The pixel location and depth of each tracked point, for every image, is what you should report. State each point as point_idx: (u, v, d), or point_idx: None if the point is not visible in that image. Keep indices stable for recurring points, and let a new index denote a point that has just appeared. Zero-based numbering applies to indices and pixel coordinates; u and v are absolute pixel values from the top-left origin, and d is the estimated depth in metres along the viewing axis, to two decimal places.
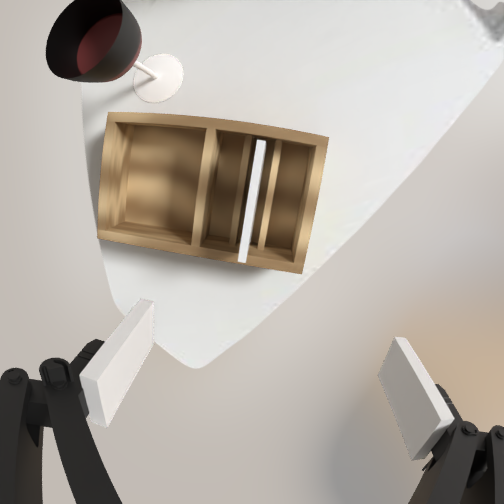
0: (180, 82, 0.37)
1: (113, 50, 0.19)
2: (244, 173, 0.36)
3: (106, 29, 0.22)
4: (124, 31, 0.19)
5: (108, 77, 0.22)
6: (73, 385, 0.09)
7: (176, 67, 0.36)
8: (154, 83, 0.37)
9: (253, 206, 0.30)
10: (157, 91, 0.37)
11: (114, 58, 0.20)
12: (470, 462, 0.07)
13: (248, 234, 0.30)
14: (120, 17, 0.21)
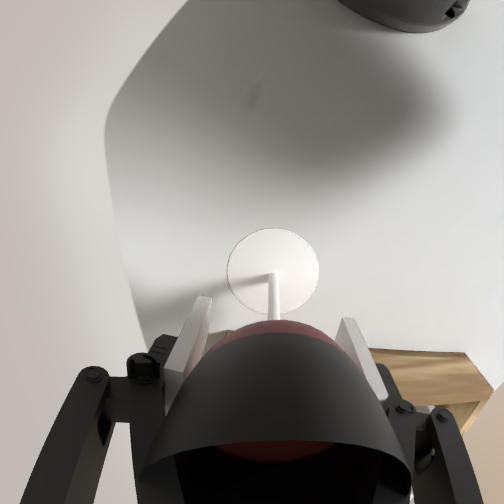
0: (313, 287, 0.26)
1: None
2: None
3: None
4: None
5: (294, 479, 0.11)
6: (159, 381, 0.10)
7: (308, 260, 0.25)
8: None
9: None
10: None
11: None
12: (413, 440, 0.09)
13: None
14: None
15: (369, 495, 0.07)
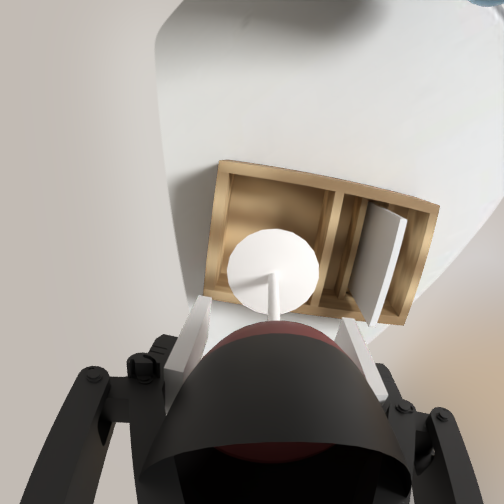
0: (313, 287, 0.26)
1: None
2: (359, 233, 0.37)
3: None
4: None
5: (294, 480, 0.11)
6: (159, 381, 0.10)
7: (308, 260, 0.25)
8: None
9: (390, 279, 0.30)
10: None
11: None
12: (413, 440, 0.09)
13: (382, 303, 0.30)
14: None
15: (369, 495, 0.07)
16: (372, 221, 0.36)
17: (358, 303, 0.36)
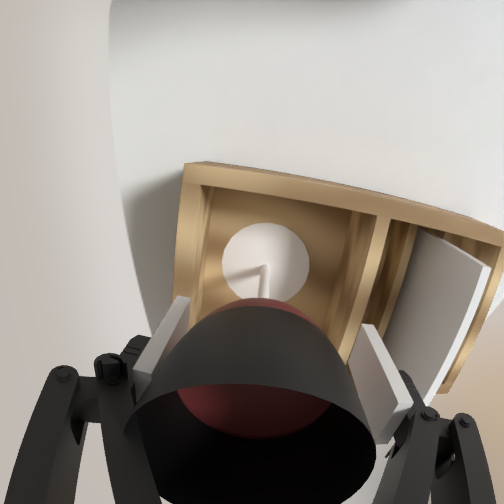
0: (304, 278, 0.27)
1: (332, 497, 0.09)
2: (402, 275, 0.23)
3: None
4: (358, 465, 0.09)
5: (277, 455, 0.12)
6: (127, 381, 0.10)
7: (298, 252, 0.26)
8: None
9: (453, 356, 0.16)
10: None
11: None
12: (435, 447, 0.08)
13: (436, 388, 0.17)
14: None
15: (389, 498, 0.06)
16: (422, 257, 0.22)
17: None
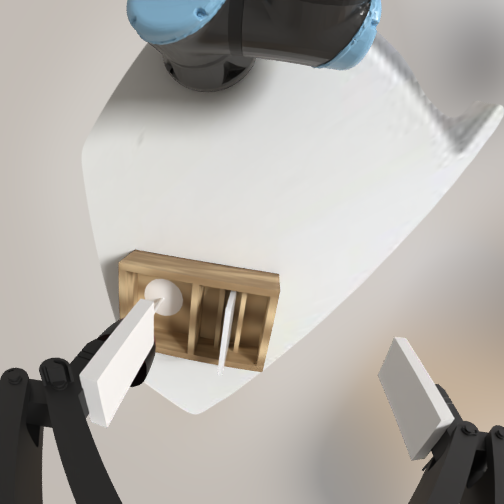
0: (181, 304, 0.55)
1: (145, 377, 0.37)
2: (221, 306, 0.52)
3: None
4: (149, 366, 0.37)
5: (141, 368, 0.41)
6: (73, 385, 0.09)
7: (176, 292, 0.55)
8: (161, 304, 0.55)
9: (225, 347, 0.45)
10: (165, 309, 0.56)
11: None
12: (470, 462, 0.07)
13: (222, 361, 0.46)
14: None
15: None
16: None
17: None
